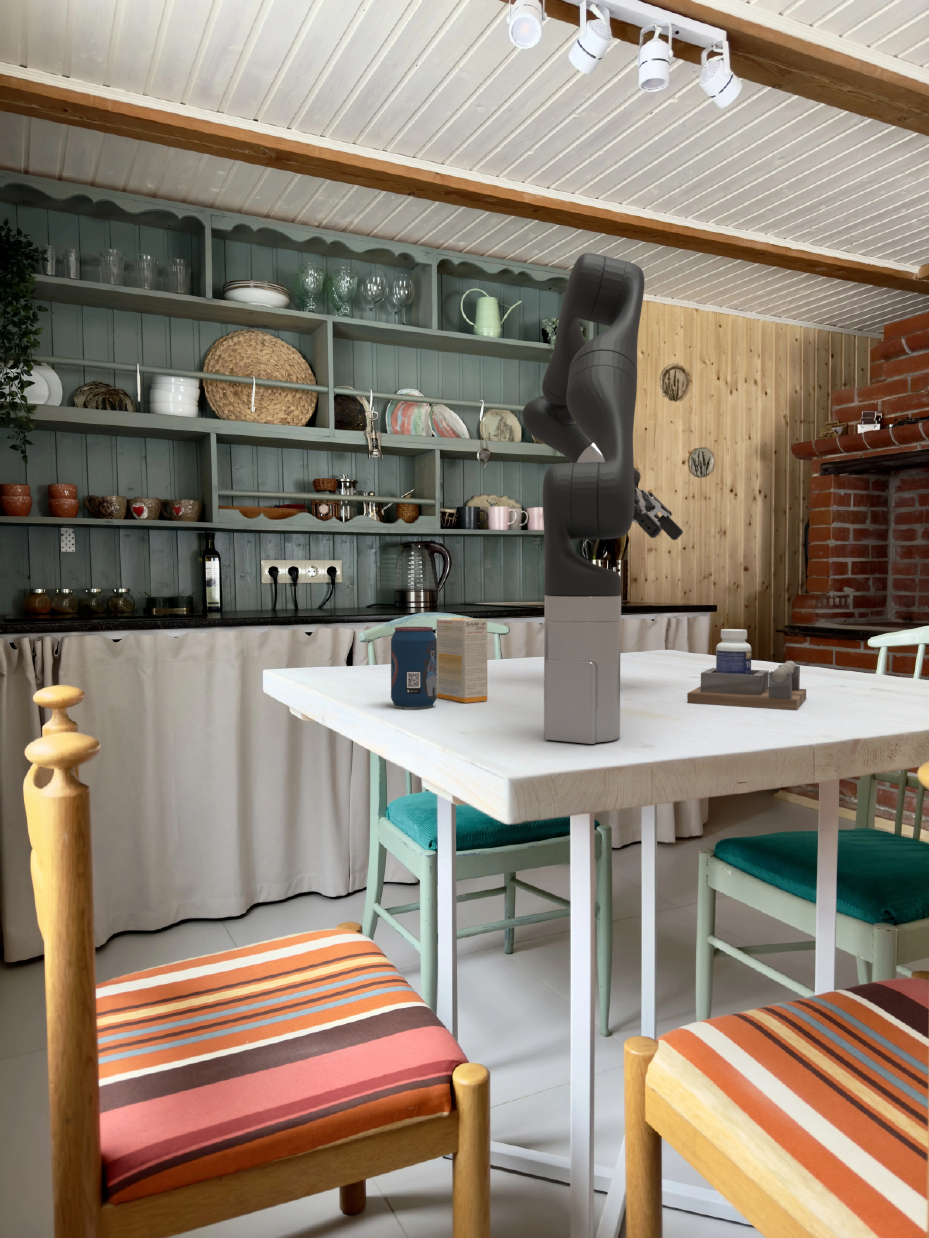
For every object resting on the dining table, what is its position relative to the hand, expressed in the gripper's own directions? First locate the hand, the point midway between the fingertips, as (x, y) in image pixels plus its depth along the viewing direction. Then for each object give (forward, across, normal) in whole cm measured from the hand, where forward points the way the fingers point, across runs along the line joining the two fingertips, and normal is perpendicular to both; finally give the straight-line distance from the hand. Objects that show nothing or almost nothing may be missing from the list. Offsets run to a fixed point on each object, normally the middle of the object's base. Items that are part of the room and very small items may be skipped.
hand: (668, 535), depth 141 cm
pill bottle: (+26, 0, +10) cm, 28 cm away
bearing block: (+28, 0, +9) cm, 30 cm away
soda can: (+2, -37, +36) cm, 52 cm away
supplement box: (+3, -26, +36) cm, 44 cm away
